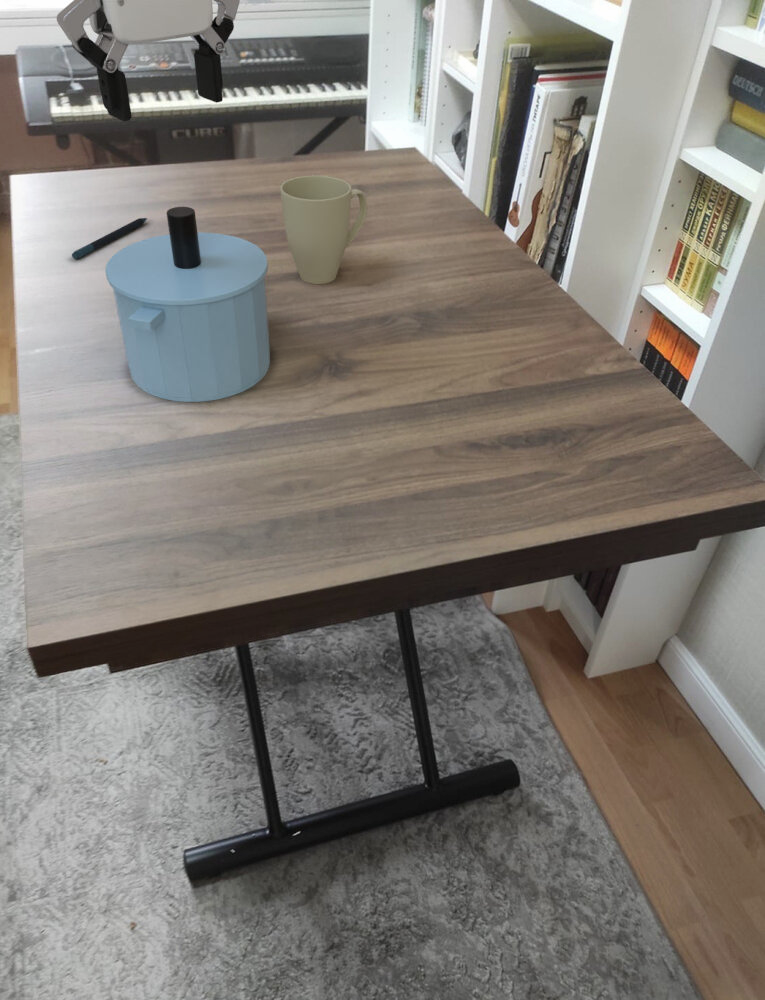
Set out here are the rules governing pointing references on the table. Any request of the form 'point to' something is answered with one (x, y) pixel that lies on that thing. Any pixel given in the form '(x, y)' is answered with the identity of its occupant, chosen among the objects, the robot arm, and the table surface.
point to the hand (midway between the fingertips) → (166, 108)
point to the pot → (196, 345)
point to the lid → (186, 265)
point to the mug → (319, 223)
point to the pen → (108, 238)
